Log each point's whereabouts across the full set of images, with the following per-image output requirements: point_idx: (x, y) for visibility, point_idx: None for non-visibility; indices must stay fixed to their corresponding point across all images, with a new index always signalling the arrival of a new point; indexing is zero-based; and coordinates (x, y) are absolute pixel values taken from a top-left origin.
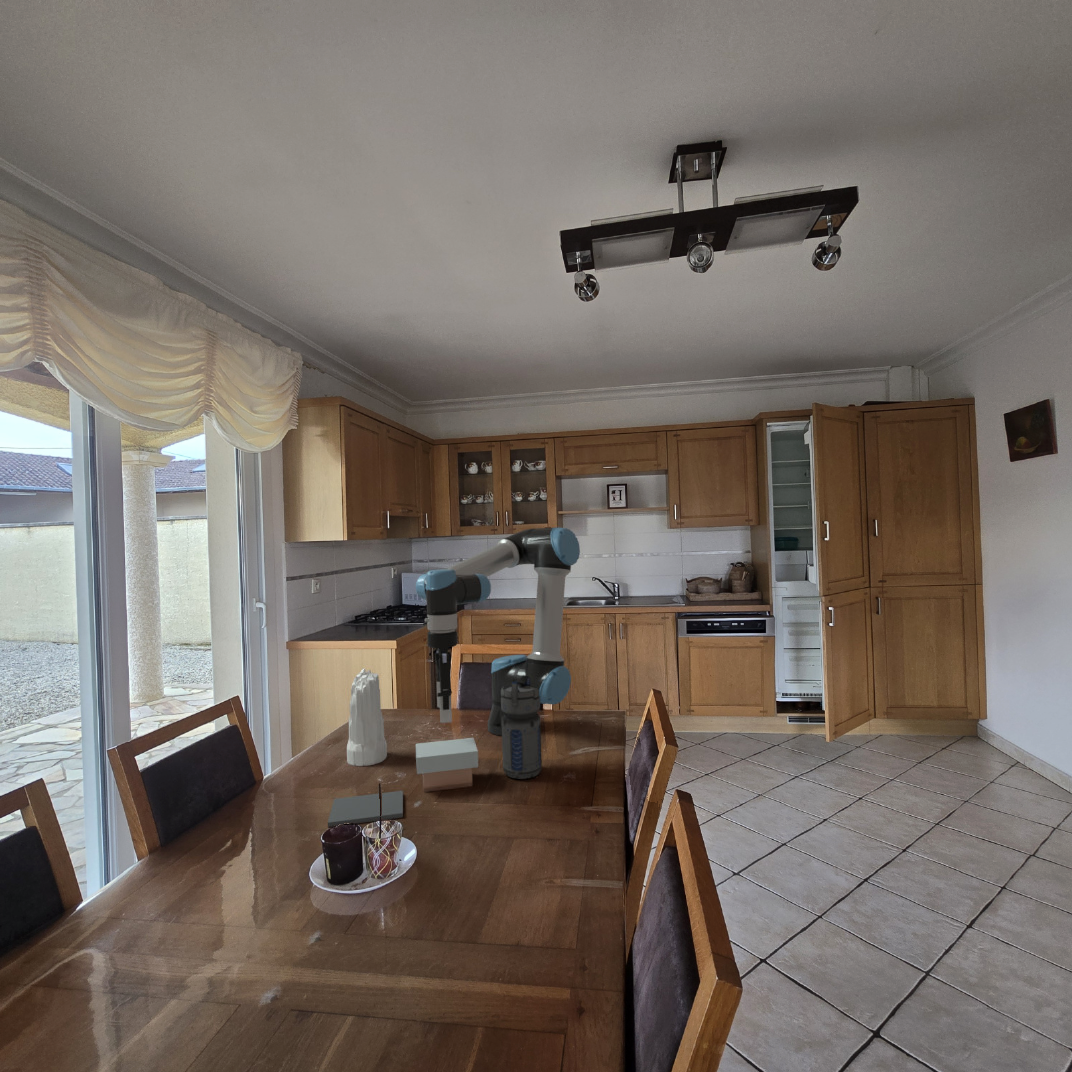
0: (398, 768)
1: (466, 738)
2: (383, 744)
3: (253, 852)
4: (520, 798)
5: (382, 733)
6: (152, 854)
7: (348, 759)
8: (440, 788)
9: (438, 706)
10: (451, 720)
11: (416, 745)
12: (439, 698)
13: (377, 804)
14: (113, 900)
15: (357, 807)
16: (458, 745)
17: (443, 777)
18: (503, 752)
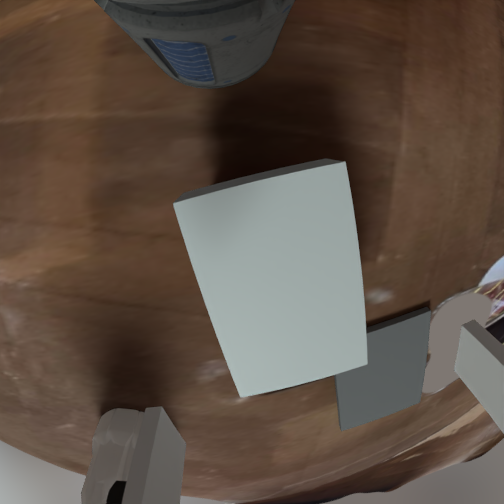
0: (178, 380)
1: (183, 233)
2: (130, 435)
3: (439, 429)
4: (378, 50)
5: (122, 455)
6: (403, 484)
7: None
8: None
9: (184, 444)
10: (477, 324)
11: (258, 392)
12: (175, 478)
13: (384, 365)
14: (460, 457)
15: (386, 389)
16: (271, 254)
17: None
18: (238, 68)
